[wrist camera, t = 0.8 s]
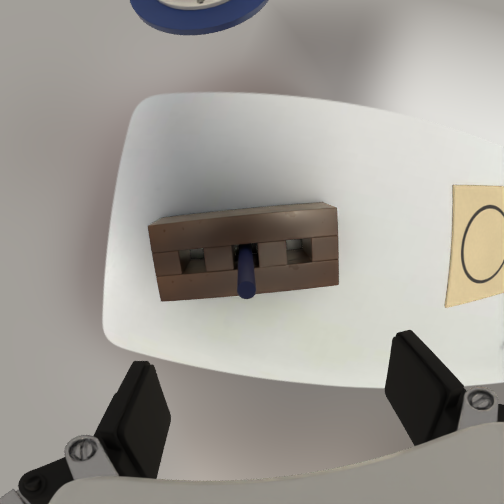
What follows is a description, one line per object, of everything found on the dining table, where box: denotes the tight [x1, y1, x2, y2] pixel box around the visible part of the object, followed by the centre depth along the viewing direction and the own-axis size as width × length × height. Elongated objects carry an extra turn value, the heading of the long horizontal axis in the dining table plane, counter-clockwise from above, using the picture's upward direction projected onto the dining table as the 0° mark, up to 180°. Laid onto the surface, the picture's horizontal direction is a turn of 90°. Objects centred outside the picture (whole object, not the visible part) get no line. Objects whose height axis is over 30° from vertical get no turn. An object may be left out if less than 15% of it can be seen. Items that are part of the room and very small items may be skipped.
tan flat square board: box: [445, 185, 504, 308], centre depth 32 cm, size 16×14×1 cm
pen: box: [237, 243, 256, 299], centre depth 25 cm, size 1×1×13 cm
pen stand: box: [148, 202, 339, 301], centre depth 29 cm, size 7×17×5 cm, turn 95°
